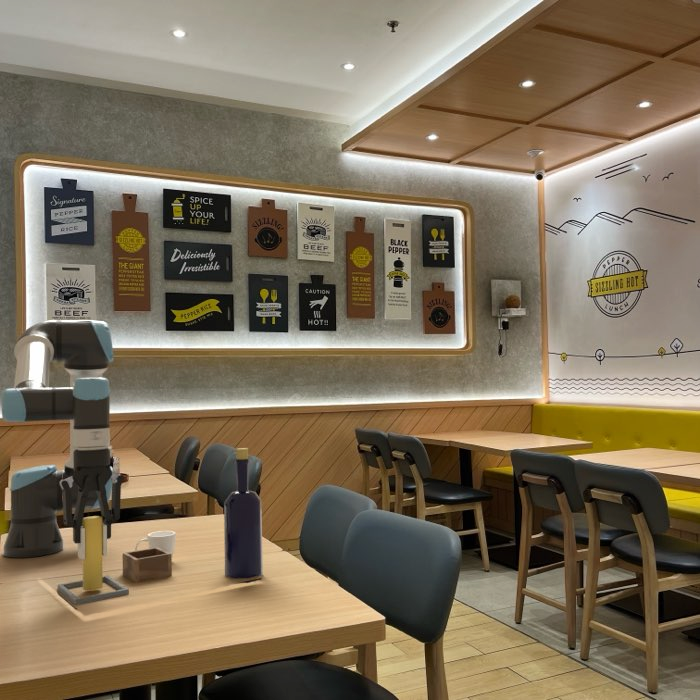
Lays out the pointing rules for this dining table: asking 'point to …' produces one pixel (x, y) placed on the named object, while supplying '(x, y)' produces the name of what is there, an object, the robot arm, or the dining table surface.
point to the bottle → (243, 526)
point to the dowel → (92, 553)
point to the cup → (161, 540)
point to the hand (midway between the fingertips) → (92, 555)
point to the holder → (147, 564)
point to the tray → (64, 590)
